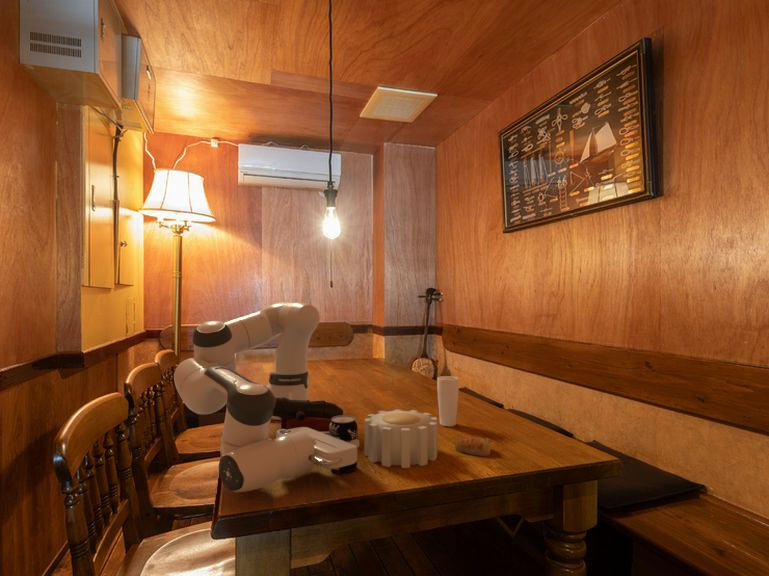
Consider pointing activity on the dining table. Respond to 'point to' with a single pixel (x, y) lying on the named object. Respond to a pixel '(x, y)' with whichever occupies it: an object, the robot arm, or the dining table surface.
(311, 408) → the cannon model
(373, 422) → the gear pedestal
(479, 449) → the pastry
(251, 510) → the dining table surface
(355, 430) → the beverage can
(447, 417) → the drinking glass
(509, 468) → the dining table surface
